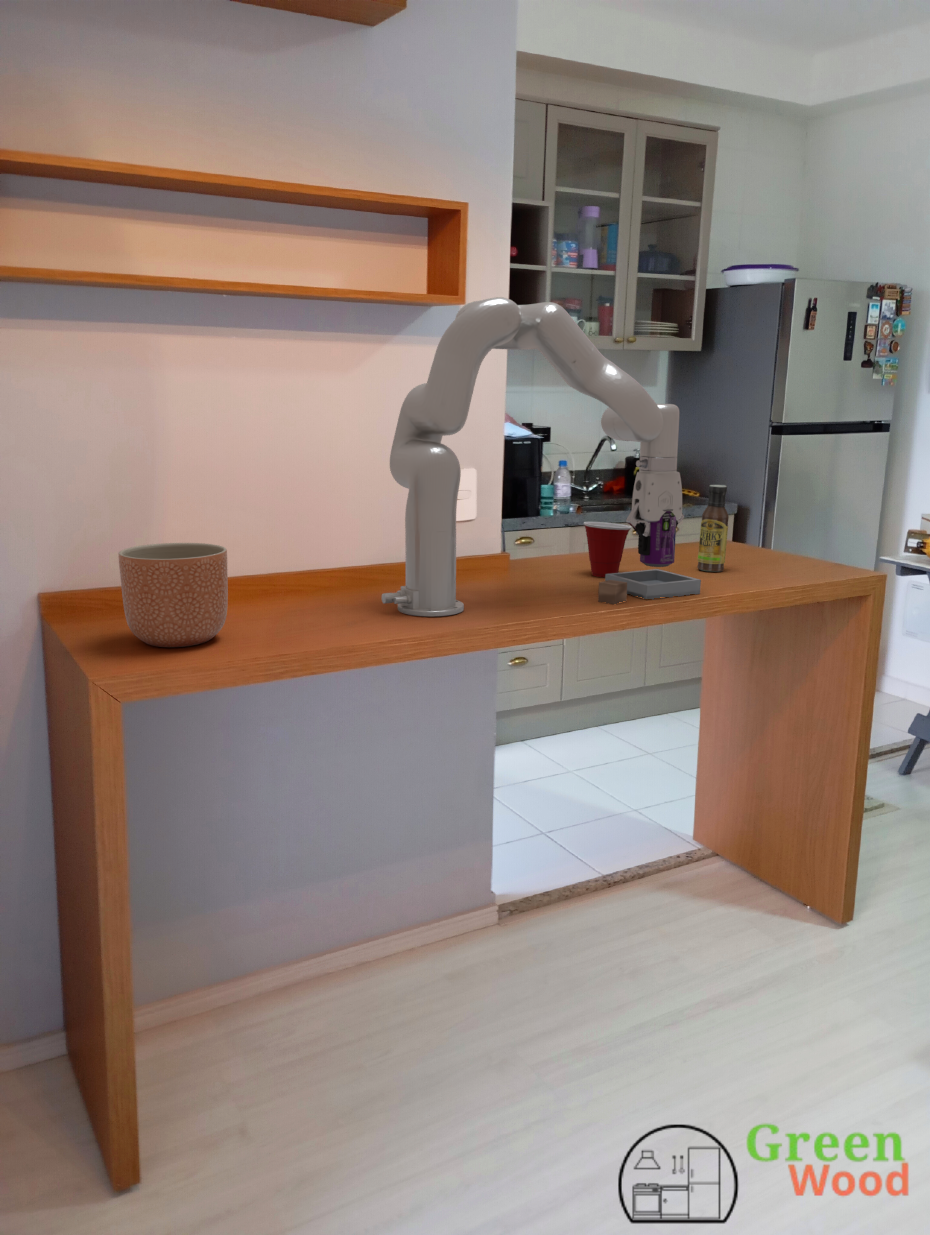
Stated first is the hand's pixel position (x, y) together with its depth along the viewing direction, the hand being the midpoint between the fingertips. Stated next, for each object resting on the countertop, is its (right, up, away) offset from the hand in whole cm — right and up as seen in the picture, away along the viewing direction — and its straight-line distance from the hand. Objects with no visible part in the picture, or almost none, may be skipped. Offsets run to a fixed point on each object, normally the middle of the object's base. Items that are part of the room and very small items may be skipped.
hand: (653, 552), depth 210 cm
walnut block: (-10, -10, -9) cm, 17 cm away
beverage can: (+1, -3, +1) cm, 3 cm away
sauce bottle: (+18, -3, +26) cm, 32 cm away
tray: (0, -8, +2) cm, 8 cm away
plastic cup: (-7, -4, +19) cm, 21 cm away
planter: (-87, -18, -42) cm, 98 cm away
